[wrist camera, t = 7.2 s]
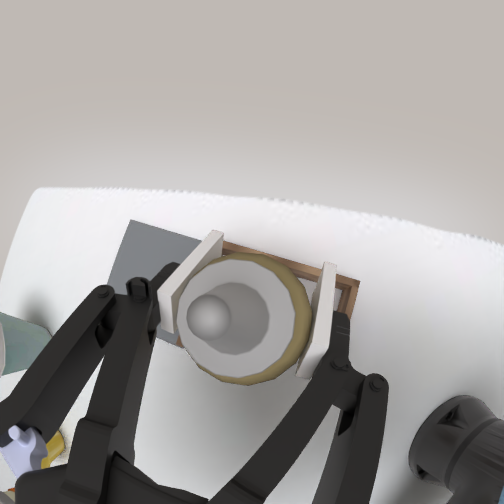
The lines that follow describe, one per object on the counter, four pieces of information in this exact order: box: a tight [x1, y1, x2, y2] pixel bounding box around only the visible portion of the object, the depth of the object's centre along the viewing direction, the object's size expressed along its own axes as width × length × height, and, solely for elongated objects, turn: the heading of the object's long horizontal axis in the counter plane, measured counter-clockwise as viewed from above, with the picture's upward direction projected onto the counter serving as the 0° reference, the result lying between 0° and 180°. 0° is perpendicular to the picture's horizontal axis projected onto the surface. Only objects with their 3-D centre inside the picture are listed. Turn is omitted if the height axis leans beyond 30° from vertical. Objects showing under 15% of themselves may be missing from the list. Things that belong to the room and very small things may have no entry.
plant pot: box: [41, 430, 65, 469], centre depth 26 cm, size 10×10×10 cm
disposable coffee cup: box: [0, 312, 52, 378], centre depth 28 cm, size 11×11×15 cm
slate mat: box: [107, 220, 202, 348], centre depth 35 cm, size 14×14×1 cm
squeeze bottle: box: [176, 252, 312, 386], centre depth 15 cm, size 8×8×18 cm
